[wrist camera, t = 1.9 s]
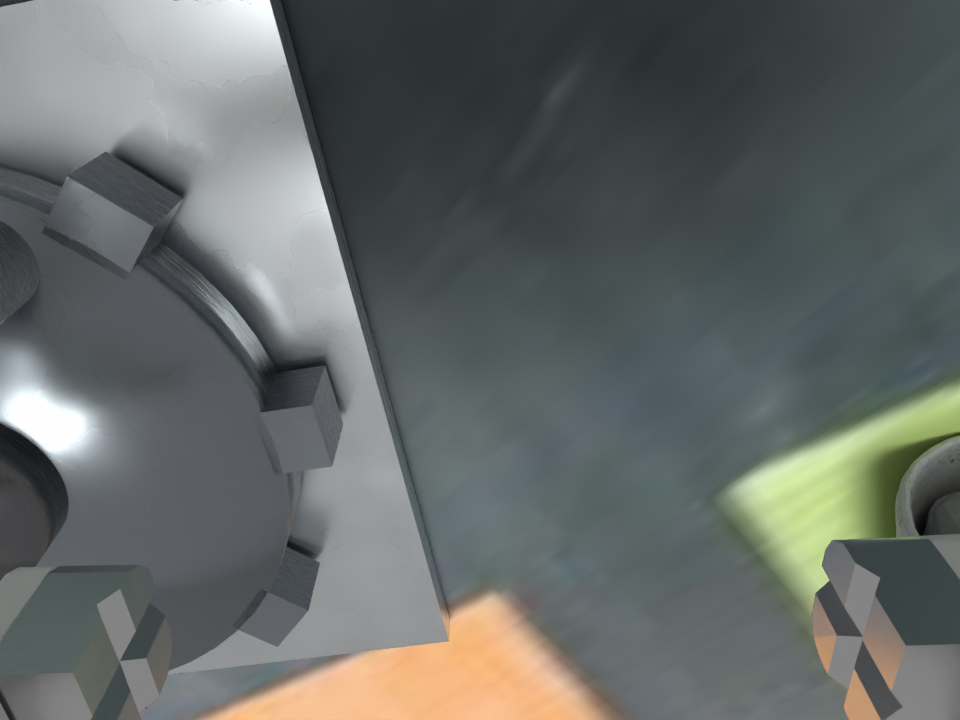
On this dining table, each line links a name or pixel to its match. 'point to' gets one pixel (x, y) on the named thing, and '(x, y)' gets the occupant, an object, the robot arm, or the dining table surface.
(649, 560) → the dining table surface
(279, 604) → the sprocket
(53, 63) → the base plate
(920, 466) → the ceramic mug
